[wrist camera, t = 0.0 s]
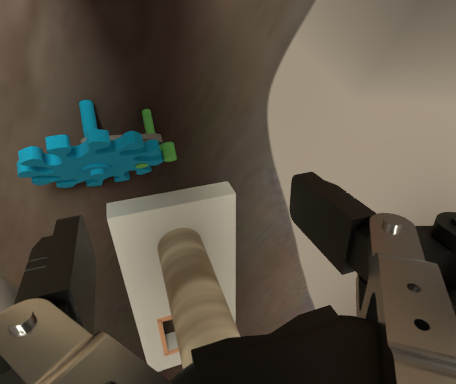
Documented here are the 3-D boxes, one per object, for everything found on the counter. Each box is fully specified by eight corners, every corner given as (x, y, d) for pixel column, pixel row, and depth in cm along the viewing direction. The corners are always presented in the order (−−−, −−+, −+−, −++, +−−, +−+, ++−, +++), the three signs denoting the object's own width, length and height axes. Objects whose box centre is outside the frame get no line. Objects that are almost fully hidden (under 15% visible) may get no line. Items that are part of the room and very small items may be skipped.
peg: (154, 233, 30) (185, 377, 19) (200, 223, 31) (254, 353, 20) (160, 266, 33) (191, 411, 21) (202, 256, 34) (252, 388, 23)
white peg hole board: (106, 203, 30) (106, 220, 28) (227, 181, 33) (236, 194, 31) (147, 356, 44) (150, 375, 42) (229, 330, 47) (235, 347, 45)
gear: (29, 200, 26) (1, 158, 17) (20, 132, 27) (-10, 58, 18) (162, 184, 30) (195, 145, 22) (151, 127, 32) (178, 68, 23)
